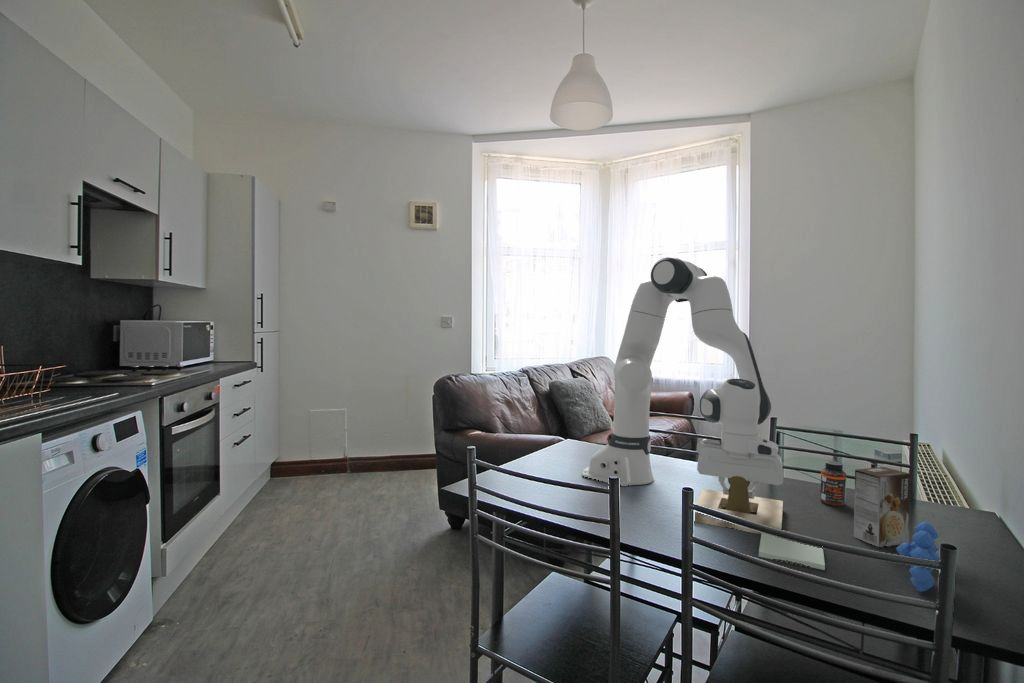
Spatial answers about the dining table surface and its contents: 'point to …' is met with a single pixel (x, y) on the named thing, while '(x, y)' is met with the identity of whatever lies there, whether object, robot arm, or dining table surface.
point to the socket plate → (765, 509)
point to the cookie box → (882, 506)
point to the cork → (738, 495)
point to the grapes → (921, 554)
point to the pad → (791, 551)
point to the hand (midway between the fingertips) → (738, 495)
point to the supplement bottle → (833, 484)
